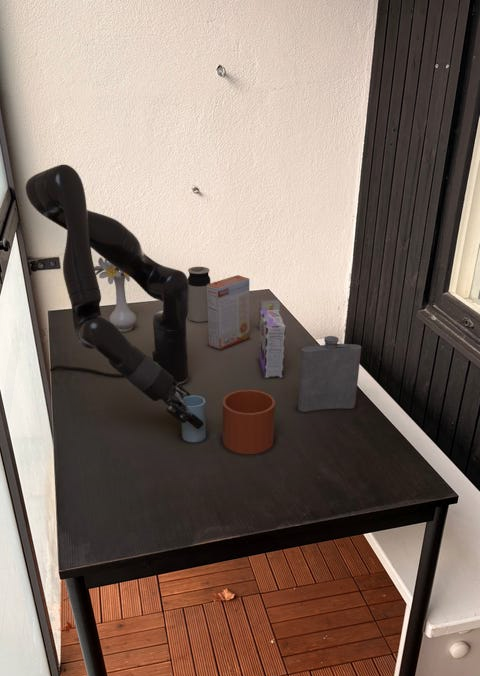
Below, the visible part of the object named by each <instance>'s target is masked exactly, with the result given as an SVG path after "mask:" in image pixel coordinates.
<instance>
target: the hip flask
mask: <svg viewBox="0 0 480 676" xmlns="http://www.w3.org/2000/svg"><path fill="white" fill-rule="evenodd" d="M323 341H324V344H321V345H319V344H318V345H311V346H303V347H302V348H301V349H300V350H301V351H300V368H299V384H298V399H297V400H298V401H297V410H298V411H299V412H301V413H306V412H312V411H322V410H334V409H337V410H339V409H343V410H344V409H345V410H347V409H349V410H351V409H354V408H356V401H357V400H356V399H357V393H358V383H359V374H360V373H359V372H360V363H361V356H362V354H361V353H362V346H361V345H360V344H357V343H356V344H353V343H352V344H351V343H339V337H337V336H334V335H327V336H324V340H323Z"/></svg>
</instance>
